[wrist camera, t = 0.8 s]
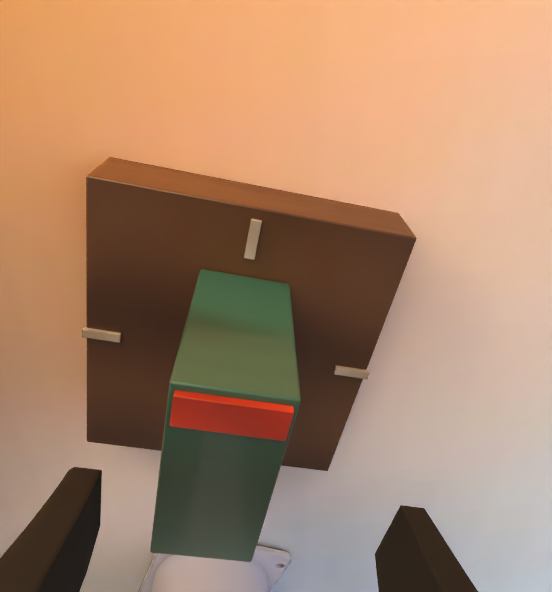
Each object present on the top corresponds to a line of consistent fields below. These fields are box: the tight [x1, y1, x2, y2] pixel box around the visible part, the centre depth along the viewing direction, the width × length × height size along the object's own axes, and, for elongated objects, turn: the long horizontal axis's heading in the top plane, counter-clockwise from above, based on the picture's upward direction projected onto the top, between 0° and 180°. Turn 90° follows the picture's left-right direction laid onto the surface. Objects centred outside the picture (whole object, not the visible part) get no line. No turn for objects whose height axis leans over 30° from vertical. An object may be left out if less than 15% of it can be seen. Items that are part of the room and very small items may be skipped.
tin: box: [150, 269, 301, 562], centre depth 15 cm, size 7×3×6 cm, turn 169°
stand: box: [82, 157, 416, 471], centre depth 19 cm, size 12×11×3 cm
